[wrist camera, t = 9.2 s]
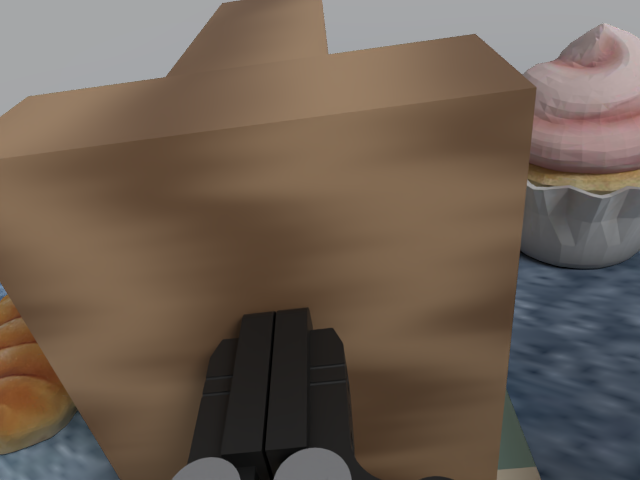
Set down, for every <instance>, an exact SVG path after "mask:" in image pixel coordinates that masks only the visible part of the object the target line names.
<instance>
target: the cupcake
mask: <svg viewBox="0 0 640 480" xmlns="http://www.w3.org/2000/svg"><path fill="white" fill-rule="evenodd" d="M523 76H524V77H525V78H526V79H528V80H529V81H530V82H531V83H532V84H533V85H534V86H536V87H537V90H536V99H535V109H534V119H533V129H532V138H531V148H530V158H529V168H528V177H527V187H526V197H525V207H524V217H523V226H522V236H521V246H520V251H522V252H523V253H525V254H526V255H528V256H530V257H533V258H535V259H537V260H540V261H543V262H546V263H549V264H553V265H556V266H561V267H569V268H602V267H607V266H611V265H615V264H618V263H621V262H623V261H626V260H628V259H630V258H631V257H632V256H633V255H634V254H636V253H637V252H638V251H639V250H640V39H639V38H638V37H636V36H634V35H633V34H631V33H629V32H627V31H624V30H621V29H618V28H617V27H613V26H611V25H609V24H600V25H598V26H597V27H595V28H593V29H592V30H590V31H588V32H587V33H585V34H584V35H582V36H581V37H579V38H578V39H576V40H575V41H573V42H572V43H570V45H568V47H567V48H565V49H564V50H563V51H562V52H561V54H560V56H559V57H558V58H557V59H555V60H554V61H550V62H546V63H540V64H536V65H535V66H533V67H532V68H530V69H528V70H527V71H526V72H525V73H524V74H523Z"/></svg>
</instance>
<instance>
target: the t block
mask: <svg viewBox="0 0 640 480" xmlns="http://www.w3.org/2000/svg"><path fill="white" fill-rule="evenodd" d="M536 90H537V87H536V86H534V85H533V84H532V83H531V82H530V81H529V80H528V79H526V78H525V77H524V76H523V75H522V74H521V73H520V72H518V71H517V70H516V69H515V68H514V67H513V66H512V65H510V64H509V63H508V62H507V61H506V60H505V59H503V58H502V57H501V56H500V55H499V54H498V53H497V52H495V51H494V50H493V49H492V48H491V47H490V46H489V45H487V44H486V43H485V42H484V41H483V40H482V39H480V38H479V37H478V36H477V35H476V34H472V35H464V36H457V37H450V38H443V39H436V40H428V41H421V42H414V43H407V44H400V45H393V46H385V47H378V48H372V49H364V50H357V51H350V52H343V53H335V54H328V47H327V39H326V30H325V23H324V13H323V5H322V0H240V1H233V2H227V3H222V5H221V6H220V7H219V8H218V9H217V11H216V12H215V13H214V15H213V16H212V17H211V18H210V20H209V21H208V22H207V24H206V25H205V26H204V28H203V29H202V30H201V32H200V33H199V34H198V35H197V37H196V38H195V39H194V41H193V42H192V43H191V45H190V46H189V47H188V48H187V50H186V51H185V53H184V54H183V55H182V56H181V58H180V59H179V60H178V62H177V63H176V64H175V65H174V67H173V68H172V69H171V71H170V72H169V73H168V75H167V76H166V77H164V78H157V79H150V80H142V81H135V82H128V83H121V84H114V85H106V86H99V87H92V88H85V89H78V90H71V91H63V92H56V93H49V94H43V95H35V96H29V97H27V98H25V99H24V100H23V101H21V102H20V103H19V104H17V105H16V106H14V107H13V108H12V109H10V110H9V111H8V112H6V113H5V114H4V115H2V116H1V117H0V282H1V284H2V286H3V287H4V289H5V291H6V292H7V294H8V296H9V297H10V299H11V300H12V302H13V304H14V305H15V307H16V309H17V310H18V312H19V314H20V315H21V317H22V319H23V320H24V322H25V324H26V325H27V327H28V328H29V330H30V332H31V333H32V335H33V337H34V338H35V340H36V342H37V343H38V345H39V347H40V348H41V350H42V351H43V353H44V355H45V356H46V358H47V360H48V361H49V363H50V365H51V366H52V368H53V370H54V371H55V373H56V375H57V376H58V378H59V379H60V381H61V383H62V384H63V386H64V388H65V389H66V391H67V393H68V394H69V396H70V398H71V399H72V401H73V403H74V404H75V406H76V407H77V409H78V411H79V412H80V414H81V416H82V417H83V419H84V421H85V422H86V424H87V426H88V427H89V429H90V430H91V432H92V434H93V435H94V437H95V439H96V440H97V442H98V444H99V445H100V447H101V449H102V450H103V452H104V454H105V455H106V457H107V458H108V460H109V462H110V463H111V465H112V467H113V468H114V470H115V472H116V473H117V475H118V477H119V478H120V480H172V479H173V477H174V476H175V475H176V474H177V473H178V472H179V471H180V470H181V469H182V468H184V467H185V466H186V464H187V461H188V458H189V453H190V449H191V444H192V439H193V435H194V430H195V425H196V421H197V416H198V411H199V407H200V402H201V398H202V397H203V394H202V392H203V388H204V383H205V381H206V374H207V369H208V364H209V360H210V357H211V355H212V354H213V352H214V351H215V350H216V348H217V347H218V345H219V344H220V342H221V341H222V340H223V339H232V338H239V334H240V328H241V322H242V317H243V315H244V314H252V313H261V312H270V311H276V312H277V311H278V310H287V309H296V308H306V307H309V310H310V315H311V320H312V326H313V330H315V329H325V328H333V329H334V330H335V332H336V333H337V335H338V336H339V338H340V339H341V341H342V342H343V345H344V351H345V358H346V365H347V372H348V379H349V386H350V396H351V410H352V421H353V434H354V447H355V458H356V460H357V462H358V463H359V464H360V465H361V467H362V468H363V469H365V470H366V471H367V472H368V473H370V474H371V475H373V476H375V477H377V478H379V479H381V480H419V479H422V478H425V477H431V476H442V477H447V478H451V479H454V480H497V470H498V461H499V451H500V441H501V431H502V422H503V412H504V402H505V392H506V383H507V373H508V363H509V353H510V343H511V334H512V324H513V314H514V304H515V295H516V285H517V275H518V265H519V256H520V246H521V236H522V226H523V217H524V207H525V197H526V187H527V177H528V168H529V158H530V148H531V138H532V129H533V119H534V109H535V99H536Z"/></svg>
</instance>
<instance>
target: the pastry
mask: <svg viewBox="0 0 640 480" xmlns="http://www.w3.org/2000/svg"><path fill="white" fill-rule="evenodd" d="M77 410H78V409H77V407H76V406H75V404H74V403H73V401H72V399H71V398H70V396H69V394H68V393H67V391H66V389H65V388H64V386H63V384H62V383H61V381H60V379H59V378H58V376H57V375H56V373H55V371H54V370H53V368H52V366H51V365H50V363H49V361H48V360H47V358H46V356H45V355H44V353H43V351H42V350H41V348H40V347H39V345H38V343H37V342H36V340H35V338H34V337H33V335H32V333H31V332H30V330H29V328H28V327H27V325H26V324H25V322H24V320H23V319H22V317H21V315H20V314H19V312H18V310H17V309H16V307H15V305H14V304H13V302H12V300H11V299H10V297H9V296H8V295H6V296H5V297H4V298H2V300H1V301H0V454H7V453H11V452H14V451H17V450H20V449H23V448H26V447H29V446H31V445H34V444H37V443H39V442H42V441H44V440H47V439H49V438H51V437H52V436H54V435H55V434H57V433H58V432H59V431H60V430H61V429H63V428H64V427H65V426H66V425H67V424H68V423H69V422H70V421H71V419H72V418H73V416H74V414H75V413H76V411H77Z"/></svg>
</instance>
